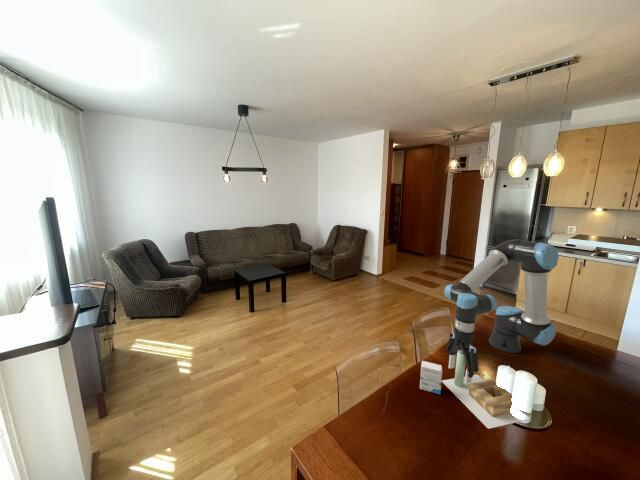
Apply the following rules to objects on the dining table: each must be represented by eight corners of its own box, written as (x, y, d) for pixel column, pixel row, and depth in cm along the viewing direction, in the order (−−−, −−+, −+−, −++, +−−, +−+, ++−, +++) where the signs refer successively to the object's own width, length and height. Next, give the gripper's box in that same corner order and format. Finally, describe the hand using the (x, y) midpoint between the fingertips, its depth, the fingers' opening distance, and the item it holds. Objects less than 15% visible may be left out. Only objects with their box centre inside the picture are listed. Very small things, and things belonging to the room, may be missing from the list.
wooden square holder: (468, 394, 113) (469, 384, 112) (491, 389, 116) (492, 379, 115) (492, 416, 101) (493, 405, 101) (517, 411, 104) (518, 400, 103)
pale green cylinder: (452, 382, 120) (455, 349, 117) (458, 381, 121) (462, 348, 118) (457, 387, 117) (461, 353, 114) (464, 386, 117) (468, 352, 115)
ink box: (440, 388, 117) (442, 364, 115) (440, 396, 113) (442, 371, 111) (420, 382, 121) (421, 359, 119) (419, 389, 116) (420, 366, 114)
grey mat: (440, 381, 121) (441, 380, 121) (477, 375, 126) (477, 374, 126) (488, 430, 96) (488, 428, 96) (531, 420, 101) (531, 418, 101)
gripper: (439, 318, 124) (436, 361, 128) (477, 343, 103) (471, 394, 106) (453, 316, 125) (449, 359, 129) (493, 341, 104) (486, 391, 108)
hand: (459, 374), depth 118 cm, fingers open, 9 cm apart
